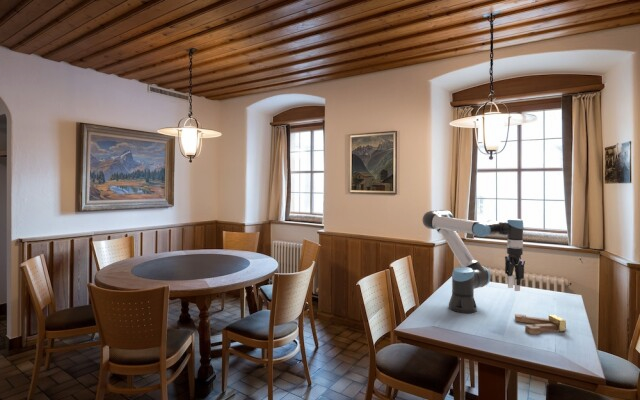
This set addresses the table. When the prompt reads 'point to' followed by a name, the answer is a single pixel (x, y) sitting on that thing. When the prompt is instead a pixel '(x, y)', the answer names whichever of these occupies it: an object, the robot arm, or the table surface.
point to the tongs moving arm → (532, 320)
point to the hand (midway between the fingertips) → (513, 289)
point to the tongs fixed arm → (541, 328)
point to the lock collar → (558, 322)
